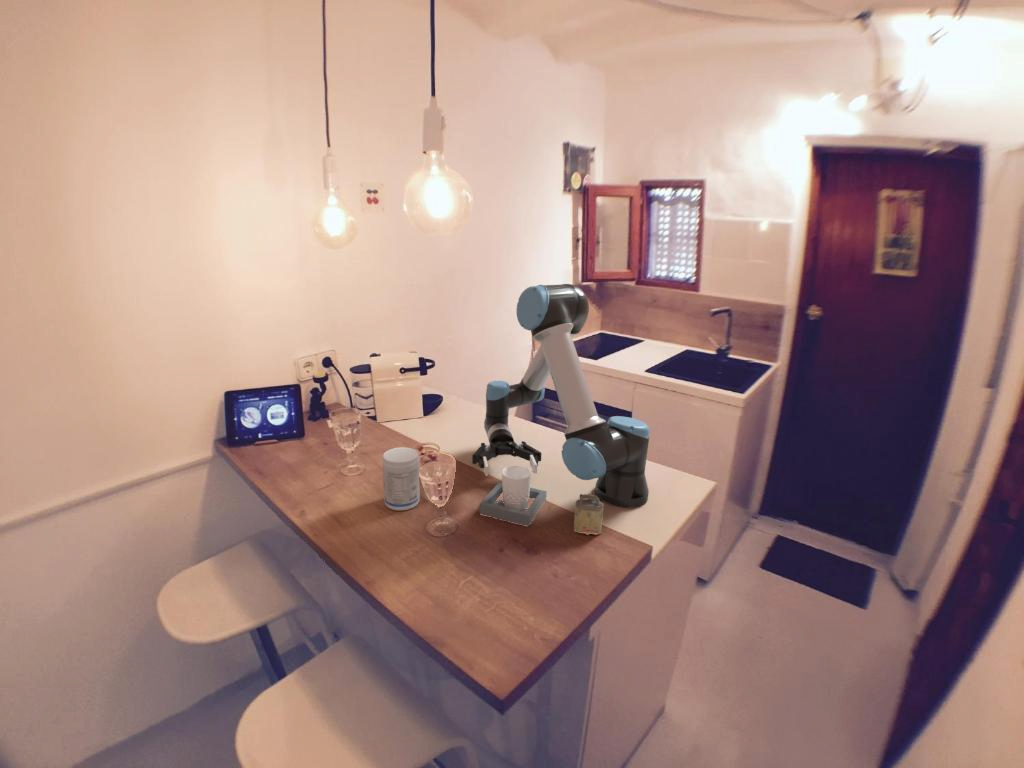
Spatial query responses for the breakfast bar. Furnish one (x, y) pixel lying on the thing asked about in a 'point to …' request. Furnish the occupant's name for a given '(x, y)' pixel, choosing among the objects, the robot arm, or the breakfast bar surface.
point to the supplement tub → (401, 478)
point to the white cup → (516, 486)
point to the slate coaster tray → (509, 514)
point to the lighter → (588, 514)
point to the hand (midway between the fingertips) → (511, 470)
